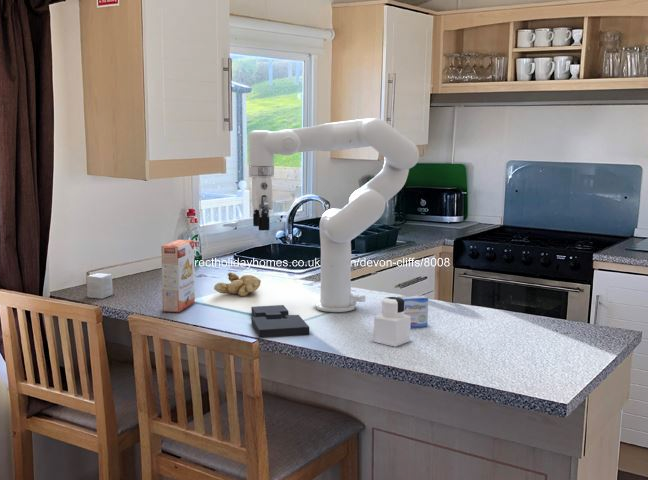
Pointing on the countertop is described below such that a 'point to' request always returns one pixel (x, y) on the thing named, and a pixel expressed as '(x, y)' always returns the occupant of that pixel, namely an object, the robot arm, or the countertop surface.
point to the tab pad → (270, 311)
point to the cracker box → (178, 275)
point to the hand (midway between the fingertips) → (261, 228)
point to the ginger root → (238, 285)
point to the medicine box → (416, 310)
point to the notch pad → (280, 326)
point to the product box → (99, 285)
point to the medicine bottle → (392, 323)
